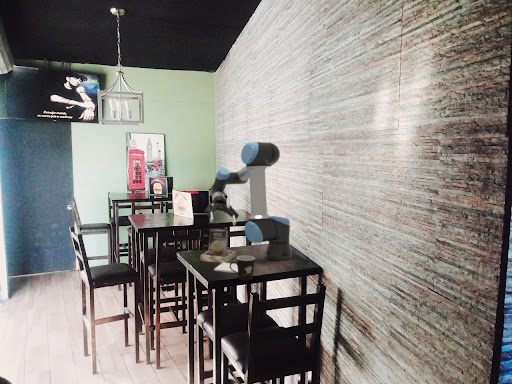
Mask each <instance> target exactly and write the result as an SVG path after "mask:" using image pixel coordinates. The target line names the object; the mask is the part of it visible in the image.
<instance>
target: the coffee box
mask: <svg viewBox="0 0 512 384" xmlns="http://www.w3.org/2000/svg"><path fill="white" fill-rule="evenodd" d="M209 233H210V234H209V250H210V256H218V257H226V256H227V250H228V233H229V230H228V229H225V228H223V229H222V228H212V229H210V231H209Z"/></svg>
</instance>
